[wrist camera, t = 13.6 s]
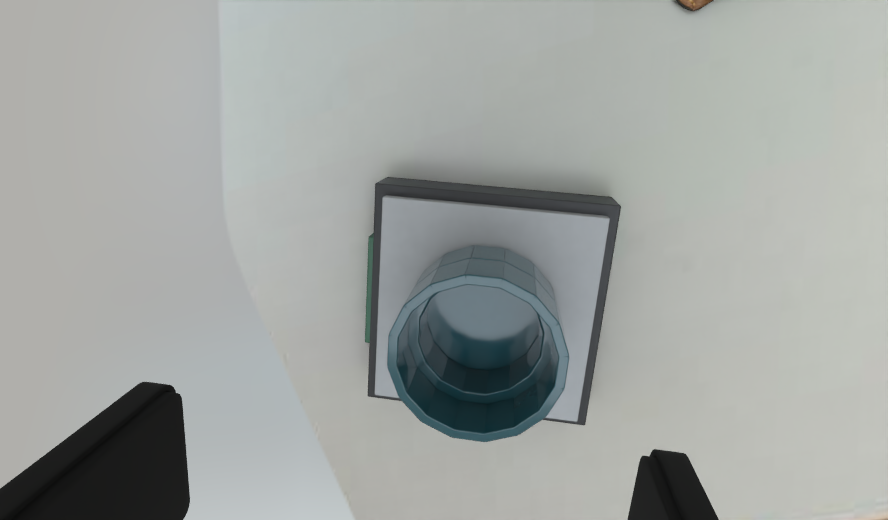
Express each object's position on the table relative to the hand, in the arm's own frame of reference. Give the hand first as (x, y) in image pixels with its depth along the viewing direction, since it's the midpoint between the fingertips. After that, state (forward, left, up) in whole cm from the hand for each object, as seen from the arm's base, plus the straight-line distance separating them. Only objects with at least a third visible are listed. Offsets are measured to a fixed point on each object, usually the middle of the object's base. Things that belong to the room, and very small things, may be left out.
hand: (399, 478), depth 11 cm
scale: (+1, -2, -18) cm, 18 cm away
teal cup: (+1, -2, -15) cm, 15 cm away
